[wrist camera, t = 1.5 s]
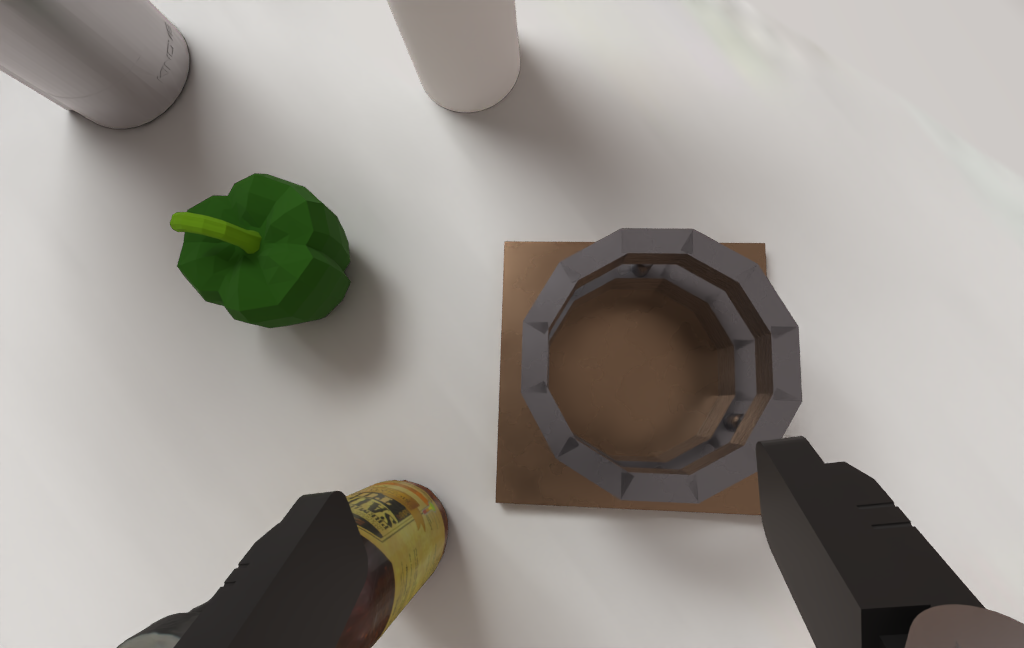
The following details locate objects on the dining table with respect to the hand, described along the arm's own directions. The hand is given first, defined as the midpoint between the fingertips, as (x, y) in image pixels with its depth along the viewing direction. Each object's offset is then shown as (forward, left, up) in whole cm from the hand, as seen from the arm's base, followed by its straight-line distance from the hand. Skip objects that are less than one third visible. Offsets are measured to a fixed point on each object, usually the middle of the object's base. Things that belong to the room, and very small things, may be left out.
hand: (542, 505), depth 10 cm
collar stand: (+5, +4, -23) cm, 24 cm away
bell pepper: (-16, +10, -23) cm, 30 cm away
